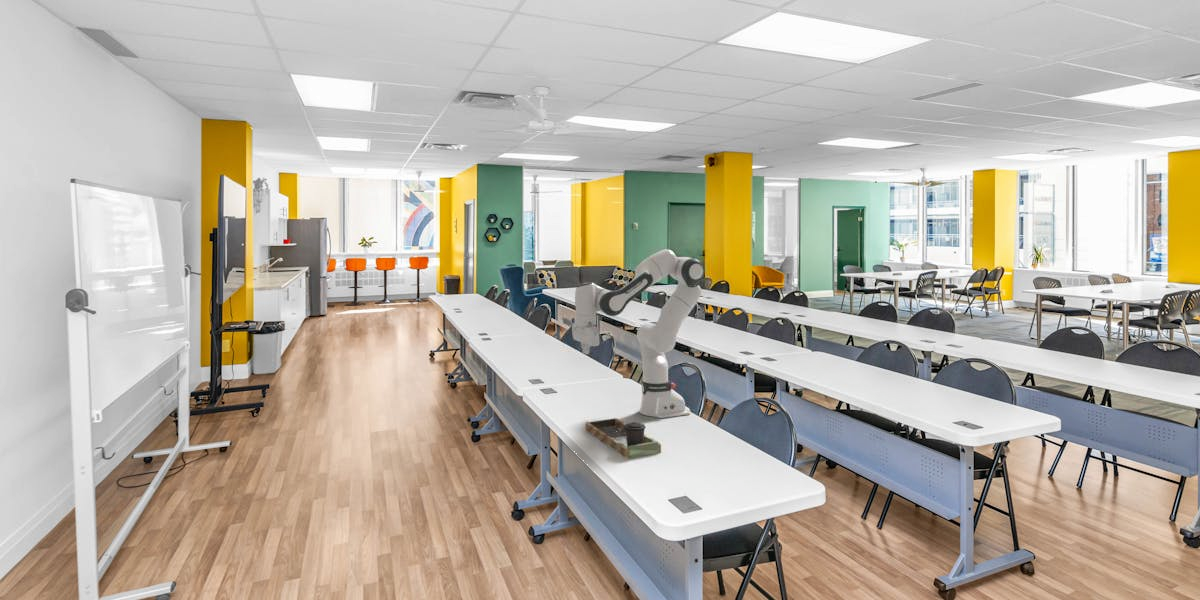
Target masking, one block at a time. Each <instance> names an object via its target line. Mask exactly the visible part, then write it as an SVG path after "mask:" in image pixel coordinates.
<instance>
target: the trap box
mask: <svg viewBox="0 0 1200 600" xmlns="http://www.w3.org/2000/svg"><path fill="white" fill-rule="evenodd" d="M626 424H627V423H625V422H624V421H622V420H620V419H619V418H616V417H615V418H608V419H602V420H595V421H589V422H585V431H586V430H587V432H588V433H589V432H590V433H589V434H590V435H592V434H593V435H592V436H594V437H595V436H596V437H595V438H596V439H598V440H599V441H601V442H602V443H604V444H606V446H609V447H610V448H611V449H613V450H614V451H616V452H617V453H618V454H620V455H622V456H623V457H625V459H632V458H636V457H637V458H638V457H641V456H646V455H648V456H649V455H653V454H659V453H661V452H662V443H660V442H659V441H657V440H656V439H654V438H652V437H651V436H649V435H647V434H644V438H643V444H637V445H631V446H628V447H627V445H625V444H623V443H622V442H620V441H618V439H615V438H614V437H613V438H611V437H610V436H608V435H607V434H605V433H604V432H602V431H601V430H599V429H600V428H601V429H604V428H610V427H613V426H614V427H615V426H616V428H617V429H619V430H620V431H622V432H623V431H624V433H626V432H625V428H624V426H625V425H626Z"/></svg>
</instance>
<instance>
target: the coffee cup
mask: <svg viewBox="0 0 1200 600" xmlns="http://www.w3.org/2000/svg"><path fill="white" fill-rule="evenodd" d="M625 424H626V425H625V426H624V428H625V432H626V436H625V440H626V447H628V446H631V445H637V444H643V438H644V435H645V429H646V425H645V424H644V423H641V422H634V421H633V422H629V423H625ZM625 432H624V433H625Z"/></svg>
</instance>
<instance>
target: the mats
mask: <svg viewBox="0 0 1200 600" xmlns="http://www.w3.org/2000/svg"><path fill="white" fill-rule="evenodd" d="M599 430H601V431H602V432H604V433H605V434H607V435H608V436H610V437H611V438H613V439H614V438H617V437H624V436H625V437H626V433H625V432H623V431H622V430H620V429H619V428H617V427H615V426H614V427H608V428H601V429H599ZM616 431H617V432H616Z"/></svg>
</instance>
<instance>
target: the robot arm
mask: <svg viewBox="0 0 1200 600" xmlns="http://www.w3.org/2000/svg"><path fill="white" fill-rule="evenodd" d="M705 271H706V268H705V265H704V264H703V262H702V261H700V260H699V259H697V258H692V257H689V256H677V255H676V254H675V252H673V251H672V250H670V249H668V248H666V249H662V250H659V251H657V252H656V253H653V254H651V255H649V256H648V257H647V258H645V259H643V260H642V261H641V262H640V263H638V264H637V265H636V267H635V270H634V275H635V277H634V278H633V279H632V280H631V281H630V282H628V283H627V284H625V285H624V286H623V287H621V288H620V289H617V290H609V289H607V288H604V287H601V286H599V285H598V284H596V283H594V282H593V281H586V282H582V283H579V284H578V285H576V288H575V295H574V306H575V313H574V316H573V317H571V320H570V322H571V324H572V325H571V331H572V332H571V333H572V338H573V340H574V341H577V342H580V345H581V349H582V353H583V354H585V355H589V354H590V348H591V347H598V346H599V345H600V331H599V328H598V327H597V312H602V313H604V314H605V315H607V316H609V317H616V316H618V315H621V314H622V313H623V312H624V310H625V308H626V307H627V305H628V304H629V303H630V302H631V301H632V300H634V299H635V298H636V297H638V296H639V295H641V294H642V293H643V292H644V291H646V290H647V289H648V288H650V287H651V286H652V285H654V284H656V283H658V282H659V281H661V280H662V279H664V278H666V276H668V277H669V278H671V279H672V280H674V281H677V286H676V289H675V290H674V291H673V293H672V294H671V295H670V296H669V298H668V299H667V301H666V302H665V304H663V306H662V307H661V309H660V314H659V317H658V320H657V321H656V322H655V323H656V324H655V323H645V324H641V326H640V327H639V328H638V329H637V332H636V338H637V341H638V343H639V348H640V355H641V360H642V361H641V362H642V381H641V393H642V395H641V396H642V397H641V403H640V407H639V410H638V412H639V413H640V414H642V415H644V416H646V417H653V418H654V417H655V418H658V419H664V418H665V419H666V418H672V417H679V416H685V415H686V416H687V415H690V414H691V409H690V408H689V407H687V406H686V402H685V399H684V397H683V396H682V395H680V394H679V393H678V392H676V390H674V388H676V384H675V383H674V382H672V381H669V364H668V363H669V362H668V360H667V358H666V353H669V352H671V351H672V350H673V349H674V348H675V346H676V343H677V342H676V341H677V340H676V339H677V335H678V333H679V330H680V328H681V326H682V325H683V323H684V322H685V320H686V319H687V318H688V315H690V313H691V311H692V310H693V309H694V308H695V306H696V304H697V303H698V301H699V298H700V296H701V295H702V288H701V287H700V285H701V284H702V281H703V279H704V276H705Z"/></svg>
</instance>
